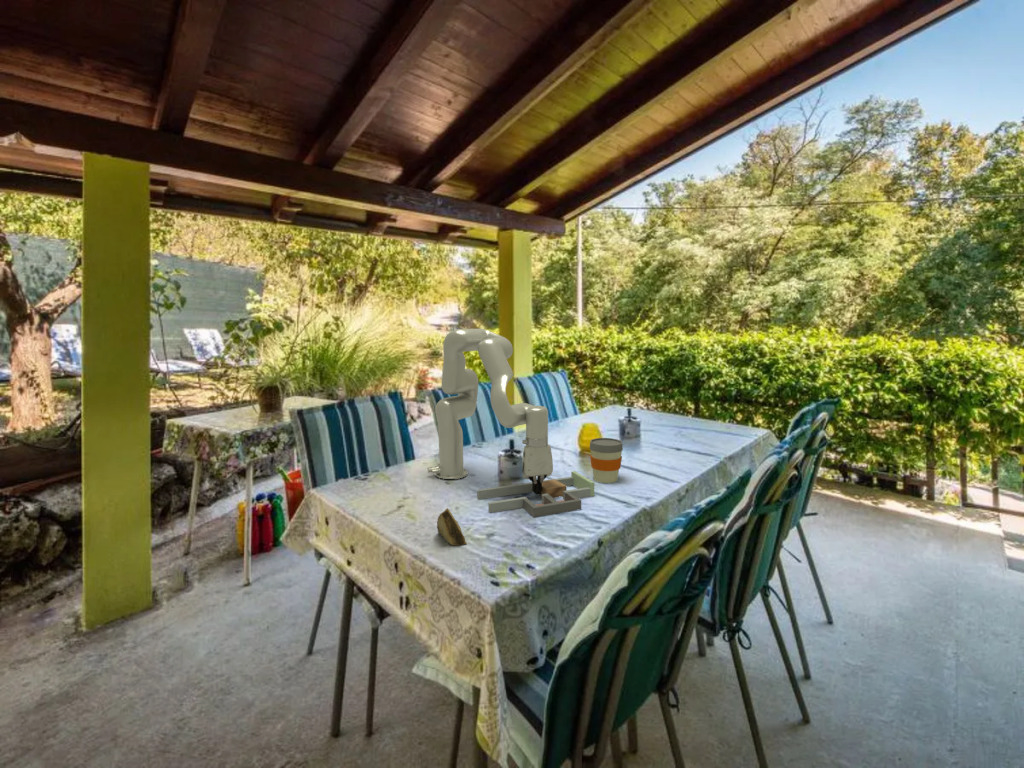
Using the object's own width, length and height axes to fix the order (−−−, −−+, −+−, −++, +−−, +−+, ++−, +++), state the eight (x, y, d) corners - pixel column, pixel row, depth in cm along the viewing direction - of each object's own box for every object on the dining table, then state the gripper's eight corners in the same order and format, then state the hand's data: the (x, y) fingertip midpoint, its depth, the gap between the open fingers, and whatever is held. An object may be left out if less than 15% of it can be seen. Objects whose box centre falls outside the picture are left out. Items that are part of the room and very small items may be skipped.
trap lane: (498, 523, 144) (498, 507, 143) (477, 498, 165) (476, 484, 164) (607, 504, 158) (607, 490, 157) (574, 483, 179) (574, 471, 178)
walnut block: (546, 500, 163) (546, 489, 163) (535, 493, 170) (535, 482, 170) (566, 496, 167) (566, 485, 166) (554, 489, 174) (554, 479, 173)
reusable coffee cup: (623, 476, 187) (624, 439, 186) (620, 486, 176) (621, 447, 174) (592, 473, 192) (592, 436, 190) (586, 482, 180) (586, 444, 178)
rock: (428, 524, 138) (426, 534, 128) (445, 500, 139) (444, 508, 129) (458, 544, 139) (458, 556, 129) (475, 520, 140) (477, 530, 130)
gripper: (520, 446, 157) (521, 500, 159) (561, 442, 162) (561, 494, 164) (512, 441, 164) (513, 492, 166) (551, 437, 169) (551, 487, 171)
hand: (537, 493), depth 165 cm, fingers closed
